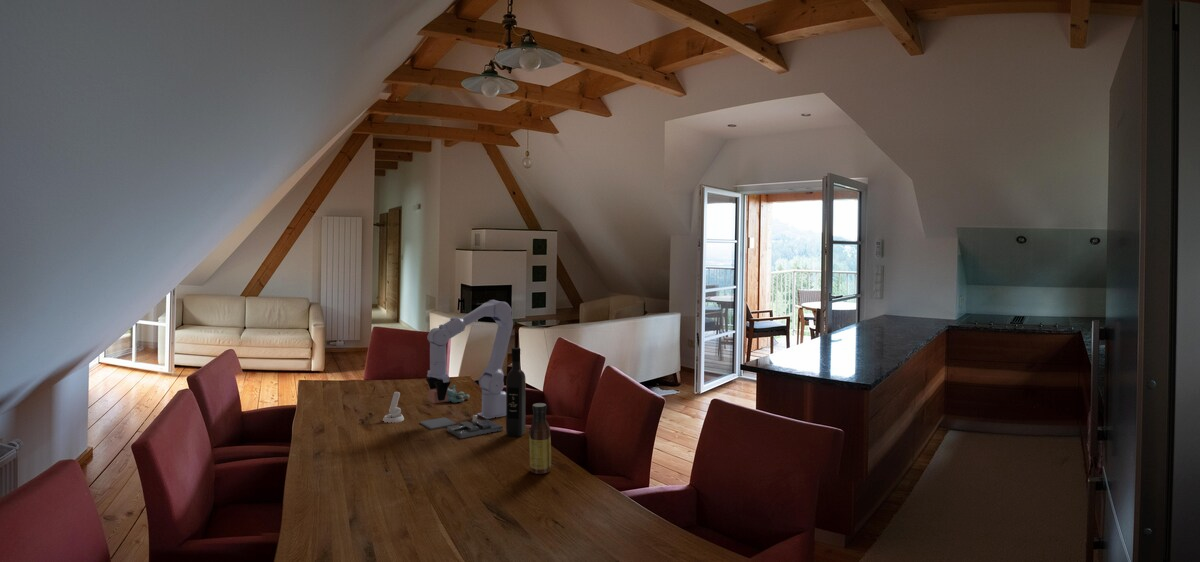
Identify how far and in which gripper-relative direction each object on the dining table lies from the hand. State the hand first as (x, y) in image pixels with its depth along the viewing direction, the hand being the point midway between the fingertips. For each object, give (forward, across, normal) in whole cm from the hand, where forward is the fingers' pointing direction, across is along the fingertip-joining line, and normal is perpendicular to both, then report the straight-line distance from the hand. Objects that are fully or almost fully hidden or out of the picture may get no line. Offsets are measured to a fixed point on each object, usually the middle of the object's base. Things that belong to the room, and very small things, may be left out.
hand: (438, 398), depth 233 cm
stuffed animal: (+10, -28, +20) cm, 36 cm away
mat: (+9, 0, 0) cm, 9 cm away
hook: (+10, -15, -11) cm, 21 cm away
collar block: (+1, 0, 0) cm, 1 cm away
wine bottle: (+10, +27, +17) cm, 33 cm away
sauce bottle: (+10, +62, +4) cm, 63 cm away
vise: (+9, +15, +7) cm, 19 cm away
